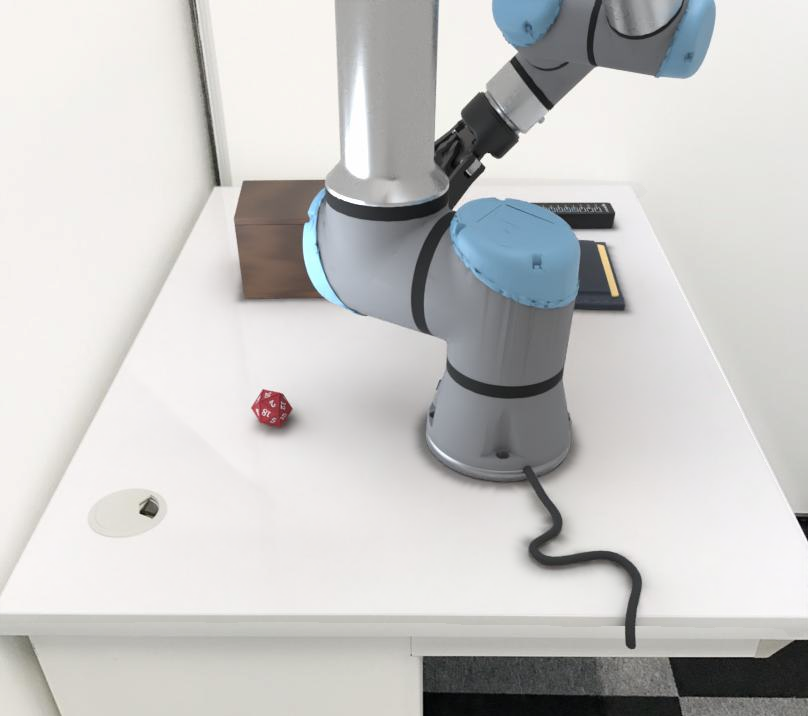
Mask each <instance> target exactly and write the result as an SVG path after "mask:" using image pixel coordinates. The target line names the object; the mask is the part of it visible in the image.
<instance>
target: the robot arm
mask: <svg viewBox="0 0 808 716" xmlns="http://www.w3.org/2000/svg"><path fill="white" fill-rule="evenodd" d="M491 12H492V18H493V20H494V23H495V25H496V27H497V28H498V29H499V31H500V32H501V33H502V37H503V38H504V40H505V42H507V44H508V45H511V47H513V48H514V49H515V50H516V51H517V53H516V54H514V55H513V56H512V57H511V58H510V59H509V60H508V61H507V62H506V63H505V64H504V65H503V66H502V67H501V68H500V69H499V70H498V71H497V72H496V73H495V74H494V75H493V76H492V77H491V78H490V79H489V80H488V81H487V82H486V83H485V90H486V91H485V92H484V91H478V92H477V93H476V95H475V96H473V98H472V99H471V100H470V101H469V102H468V103H466V105H465V106H464V107H463V108H462V109H461V110H460V117H461V119H460V120H458V121H457V122H456V123H455V124H454V125H453V126H452V127H451V128H450V129H449V130H448V131H446V132H445V133H443V135H441V136H440V137H439V138H437V139H436V137H435V136H436V112H437V111H436V107H437V77H438V76H437V75H438V47H439V20H440V19H439V17H440V15H439V14H440V0H334V23H335V24H334V25H335V49H336V50H335V51H336V75H337V77H336V78H337V103H338V127H339V128H338V130H339V131H338V133H339V155H340V157H339V158H340V159H339V161H338V162H337V163H336V164H335V165H334V167H332V169H331V170H330V171H329V172H328V173H327V174H326V176H325V179H324V180H325V188H324V189H322V190H321V191H320V192H319V193H318V195H317V196H316V197H315V198H314V200H313V202H312V204H311V206H310V208H309V211H308V215H309V217H310V221H309V222H307V223H305V225H304V231H303V254H304V260H305V265H306V268H307V272H308V275H309V277H310V279H311V281H312V283H313V285H314V286H315V288H316V289H317V291H318V292H319V293H320V294H321V295H322V296H323V297H322V298H324V299H325V300H327V301H328V302H330V303H332V304H334V305H336V306H340V307H342V308H344V309H346V310H348V311H350V312H351V313H352V314H355V315H358V316H362V317H371V318H374V319H377V320H381V321H384V322H387V323H390V324H393V325H396V326H399V327H402V328H406V329H409V330H412V331H415V332H418V333H421V334H424V335H428V336H432V337H436V338H439V339H441V340H443V341H445V342H446V362H445V371H444V373H443V375H442V378H441V379H439V380H438V383H437V385H436V388H435V391H436V392H435V394H434V397H433V399H432V402H431V404H430V407H429V409H428V411H427V415H426V421H425V441H426V444H427V447H428V448H429V450H430V452H431V453H432V454H433V456H434V457H435V458H436V459H437V460H438V461H440V462H441V463H442V464H444V465H445V466H446V467H448V468H450V469H451V470H454V471H456V472H458V473H460V474H463V475H465V476H469V477H471V478H475V479H480V480H486V481H493V482H514V481H515V482H516V481H523V480H528V482H529V483H530V486H531V487H532V489H533V491H534V493H535V494H536V496H537V497H538V499H539V501H540V502H541V504H542V505H543V506H544V508H545V509H546V510H547V511H548V513H549V514H550V516H551V518H552V521H553V525H552V527H551V528H549V530H547V531H546V532H544V533H542V534H540V535H539V536H537V537H536V538H534V539H532V540H531V541H530V543H529V545H528V553H529V554H530V556H531V558H532V559H534V560H535V561H536V562H537V563H540V564H542V565H544V566H550V567H556V566H557V567H560V566H567V565H569V566H570V565H575V564H579V563H584V562H585V563H586V562H592V561H609V562H613V563H615V564H617V565H618V566H620V567H621V568H622V569H623V570H625V571H626V572H627V573H628V574H629V576H630V578H631V591H630V594H629V598H628V602H627V606H626V612H625V618H624V620H625V621H624V641H625V643H624V644H625V647H626V648H627V649H629V650H635V649H636V647H637V641H636V619H637V612H638V607H639V603H640V600H641V599H640V598H641V593H642V589H643V578H642V575H641V573H640V571H639V570H638V568H637V566H636V565H634V563H633V562H632V561H631V560H630V559H628V558H627V557H625V556H624V555H622V554H620V553H618V552H614V551H611V550H590V551H583V552H578V553H573V554H567V555H566V554H565V555H560V556H559V555H558V556H557V555H556V556H552V555H547V554H544V553H542V552H541V551H540V550H539V548H540V547H541V546H543V545H545V544H546V543H548V542H550V541H551V540H553V539H554V538H556V537H557V536H558V535H559V534H560V532H561V531H562V529H563V525H564V523H563V516H562V513H561V512H560V510H559V509H558V508H557V506H556V505H555V503H554V502H553V501H552V500H551V499H550V497H549V495H547V493H546V491H545V489H544V487H543V486H542V483H541V482H540V481H539V479H538V477H539V476H542V475H544V474H546V473H548V472H550V471H552V470H554V469H555V468H557V467H558V466H559V465H560V464H561V463H562V462H563V461H564V460H565V459H566V457H567V455H568V454H569V451H570V448H571V442H572V438H573V437H572V436H573V426H572V425H573V424H572V423H573V422H572V418H571V414H570V412H569V409H568V402H567V397H566V392H565V385H564V380H563V378H564V370H565V365H566V359H567V353H568V349H569V348H568V347H569V340H570V336H571V335H570V334H571V328H572V323H573V318H574V317H573V316H574V311H575V309H574V305H575V298H576V296H577V293H578V289H579V275H578V273H579V263H580V245H579V241H578V240H579V238H578V237H577V235H576V233H575V232H574V230H573V228H571V227H570V226H569V225H568V224H567V223H566V222H565V221H564V220H563V219H562V218H560V217H559V216H558V215H556V214H555V213H553V212H551V211H549V210H547V209H545V208H543V207H540V206H538V205H535V204H532V203H533V202H529V201H525V200H521V199H516V198H511V197H506V198H505V199H499V198H497V197H493V196H492V197H481V198H476V199H473V200H470V201H467V202H465V203H464V204H462V205H461V206H460V207H458V209H457V210H453V209H454V208H455V207H456V206H457V204H458V203H459V202H460V200H461V199H462V198H463V196H464V195H465V193H467V191H468V190H469V188H470V187H471V186H472V185H473V183H474V182H475V181H476V180H477V179H478V178H479V177H481V175H482V174H483V173H484V172H485V170H486V166H485V165H484V164H483V163H482V159H483V158H484V157H485V155H486V154H490V155H491V157H492V158H494V159H496V160H500V159H503V158H504V157H505V155H506V154H508V153H509V152H510V151H511V150H512V148H513V147H515V146H516V145H517V144H518V143H519V142H520V135H519V134H520V133H521V134H523V135H526V134H528V132H529V131H531V129H533V127H535V126H536V125H537V123H538V124H539V125H541V124H543V123H544V122H545V119H546V118H545V116H546V115H547V114H548V113H549V112H550V111H551V110H552V109H554V106H556V105H557V104H558V103H559V102H560V101H561V100H562V99H563V98H564V97H565V96H566V95H568V93H570V92H571V91H572V90H573V89H574V88H575V87H576V86H577V85H578V84H579V83H580V82H581V81H583V79H584V78H586V76H587V75H589V73H591V72H592V71H593V70H594V69H595V68H598V67H600V68H604V69H605V68H606V69H611V70H617V71H622V72H627V73H633V74H639V75H640V74H641V75H645V76H652V77H653V78H656V79H659V78H668V79H680V80H685V79H689V78H692V77H693V76H694V75H695V74H696V73H697V72H698V71H699V70H700V68H701V67H702V65H703V62H704V61H705V59H706V56H707V54H708V52H709V51H708V50H709V48H710V45H711V43H712V38H713V34H714V29H715V25H716V17H717V5H716V2H715V0H491ZM435 139H436V140H435Z"/></svg>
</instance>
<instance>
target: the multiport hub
mask: <svg viewBox="0 0 808 716" xmlns="http://www.w3.org/2000/svg"><path fill="white" fill-rule="evenodd" d="M531 203H532V204H535V205H538V206H540V207H543V208H545V209H547V210H549V211H551V212H553V213H555V214H556V215H558V216H559V217H560V218H562V219H563V220H564V221H565V222H566V223H567V224H568V225H569V226H570V227H571V229H613V228H614V224H615V218H616V211H615V209H614V208H613V206H612V203H611V202H531Z"/></svg>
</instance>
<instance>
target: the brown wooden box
mask: <svg viewBox="0 0 808 716" xmlns="http://www.w3.org/2000/svg"><path fill="white" fill-rule="evenodd" d="M240 187H241V188H240V190H239V196H238V199H237V204H236V208H235V212H234V215H233V216H234V217H233V223H234V232H235V239H236V247H237V254H238V262H239V269H240V277H241V284H242V292H243V299H244V300H246V299H247V300H251V299H253V300H254V299H255V300H256V299H308V298H309V299H311V298H315V299H317V298H324V297H323V296H322V295H321V294H320V293H319V292H318V291H317V289H316V288H315V286H314V285H313V283H312V281H311V279H310V277H309V275H308V272H307V268H306V265H305V260H304V254H303V231H304V225H305V223H307V222H309V221H310V217H309V215H308V211H309V208H310V206H311V204H312V202H313V200H314V198H315V197H316V196H317V195H318V193H319V192H320V191H321V190H322V189H324V188H325V179H267V180H266V179H262V180H261V179H260V180H259V179H257V180H256V179H253V180H250V179H249V180H248V179H247V180H242V183H241V186H240Z"/></svg>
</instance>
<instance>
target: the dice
mask: <svg viewBox="0 0 808 716" xmlns="http://www.w3.org/2000/svg"><path fill="white" fill-rule="evenodd" d="M250 409H251V410H252V412H253V414H254V415H255V417H256V418H257V420H258V422H259V424H262V425H263V424H264V425H266V426H273V427H277V428H282V427H283V425H284V424H285V422H286V421H287V419H288V418H289V416H290V414H291V412H292V411H293V407H292V405H291V404H290V402H289V400H288V399H287V398H286V396H285V394H284V393H282V392H280V391H279V392H278V391H273V390H269V389H264V388H262V389H261V391H260V392H259V394H258V396H257V398H256V399H255V401H254V402H253V404H252V406H251V407H250Z"/></svg>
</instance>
